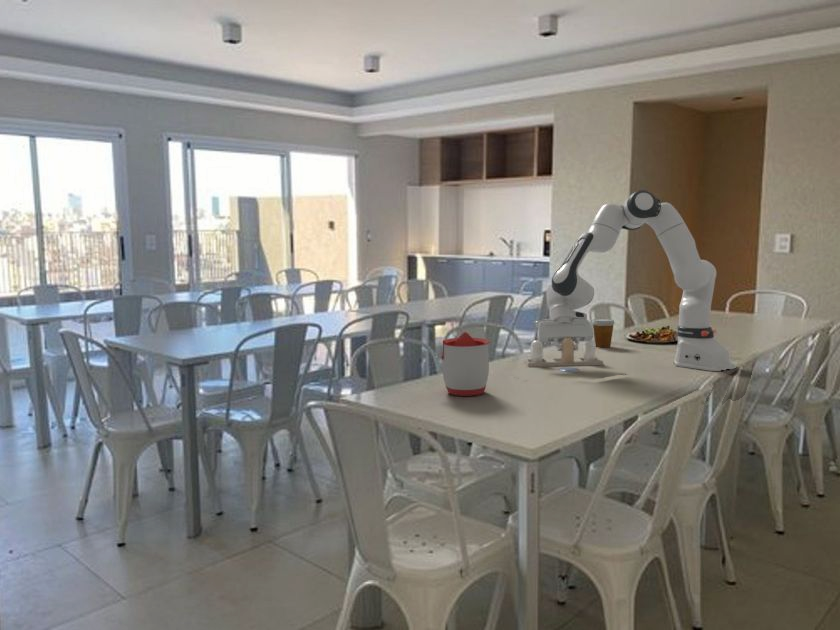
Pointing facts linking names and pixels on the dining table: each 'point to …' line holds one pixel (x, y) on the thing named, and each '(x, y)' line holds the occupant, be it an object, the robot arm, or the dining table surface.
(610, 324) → the disposable coffee cup
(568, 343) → the beige rounded cylinder
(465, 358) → the citrus juicer
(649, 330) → the plate of food
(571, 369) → the saucer
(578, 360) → the egg tray
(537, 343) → the white egg
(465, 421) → the dining table surface
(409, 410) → the dining table surface
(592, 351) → the white rounded cylinder
